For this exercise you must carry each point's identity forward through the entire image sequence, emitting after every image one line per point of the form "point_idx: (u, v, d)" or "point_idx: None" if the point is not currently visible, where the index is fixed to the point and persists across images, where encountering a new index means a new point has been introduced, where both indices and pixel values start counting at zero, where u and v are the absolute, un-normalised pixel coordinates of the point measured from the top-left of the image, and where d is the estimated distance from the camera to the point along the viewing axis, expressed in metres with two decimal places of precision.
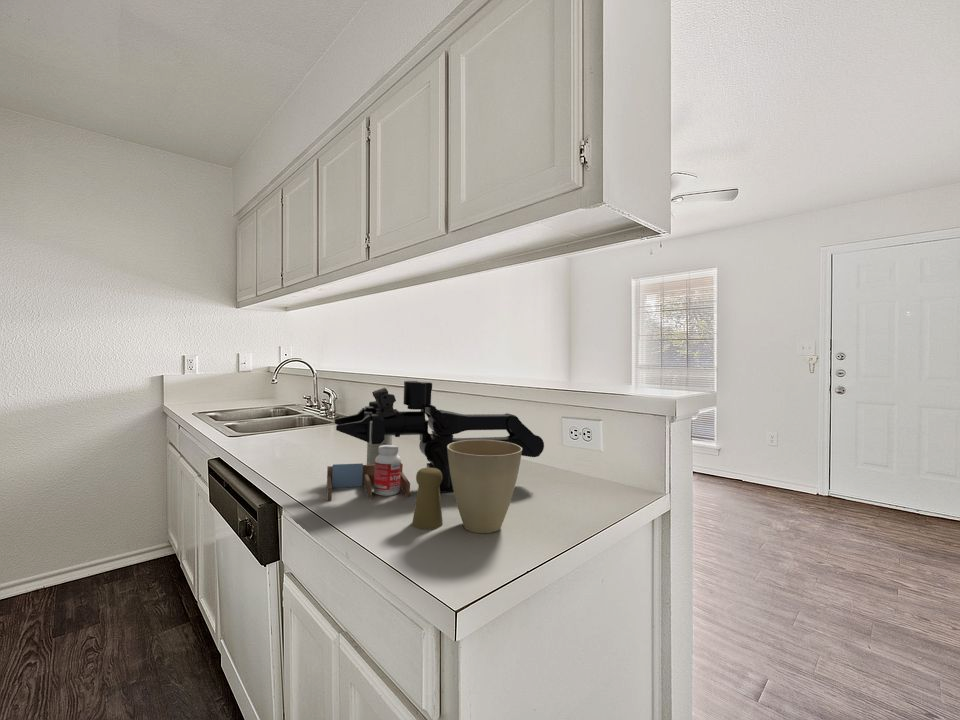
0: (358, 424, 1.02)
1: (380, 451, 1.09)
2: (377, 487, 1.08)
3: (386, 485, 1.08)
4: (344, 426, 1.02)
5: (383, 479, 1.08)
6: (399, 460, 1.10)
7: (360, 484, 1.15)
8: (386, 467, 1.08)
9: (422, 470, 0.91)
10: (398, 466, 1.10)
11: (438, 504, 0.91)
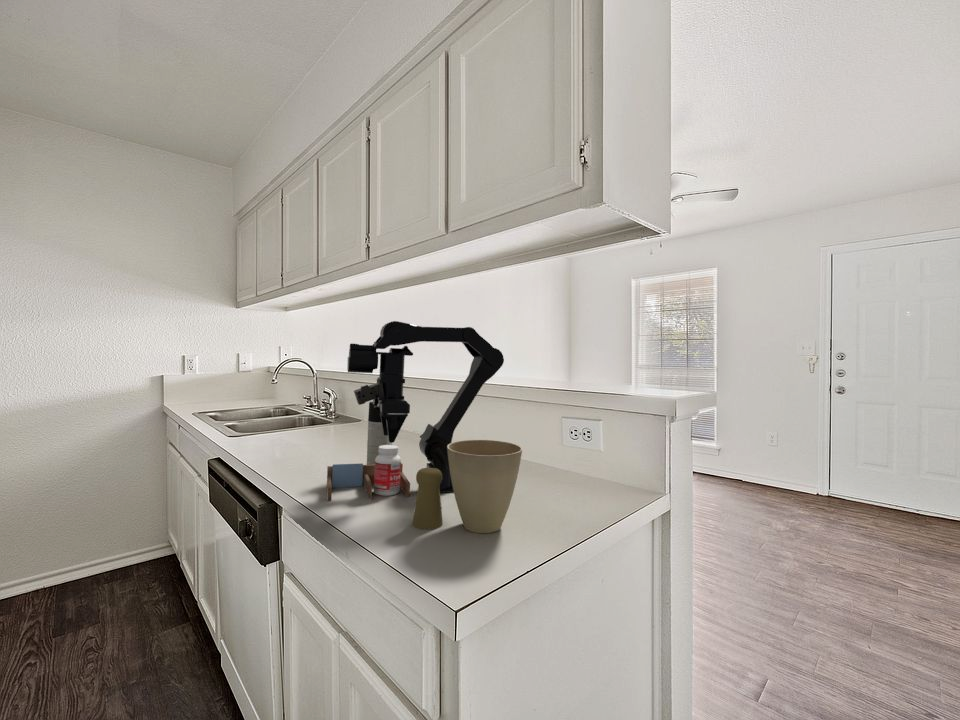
0: (389, 423, 1.05)
1: (380, 451, 1.09)
2: (377, 487, 1.08)
3: (386, 485, 1.08)
4: (390, 435, 1.06)
5: (383, 479, 1.08)
6: (399, 460, 1.10)
7: (360, 484, 1.15)
8: (386, 467, 1.08)
9: (422, 470, 0.91)
10: (398, 466, 1.10)
11: (438, 504, 0.91)
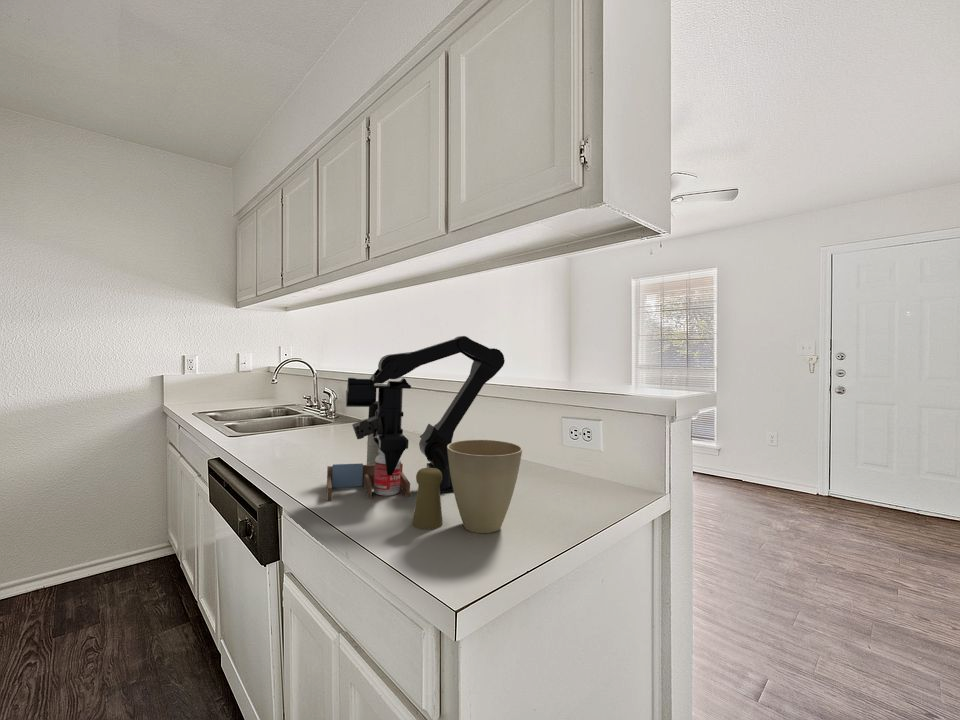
0: (387, 456, 1.06)
1: (380, 451, 1.09)
2: (377, 487, 1.08)
3: (386, 485, 1.08)
4: (388, 468, 1.07)
5: (383, 479, 1.08)
6: (399, 460, 1.10)
7: (360, 484, 1.15)
8: None
9: (422, 470, 0.91)
10: (398, 466, 1.10)
11: (438, 504, 0.91)
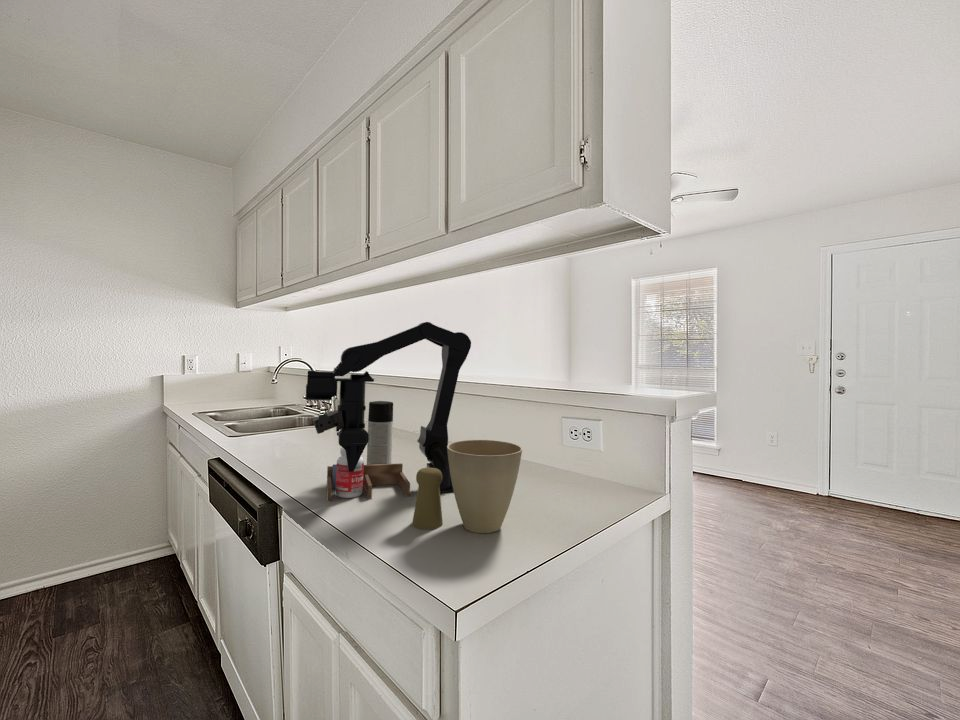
0: (348, 452, 1.02)
1: (342, 452, 1.06)
2: (338, 489, 1.06)
3: (347, 487, 1.05)
4: (349, 464, 1.03)
5: (344, 480, 1.05)
6: (361, 461, 1.07)
7: None
8: None
9: (422, 470, 0.91)
10: (360, 467, 1.07)
11: (438, 504, 0.91)
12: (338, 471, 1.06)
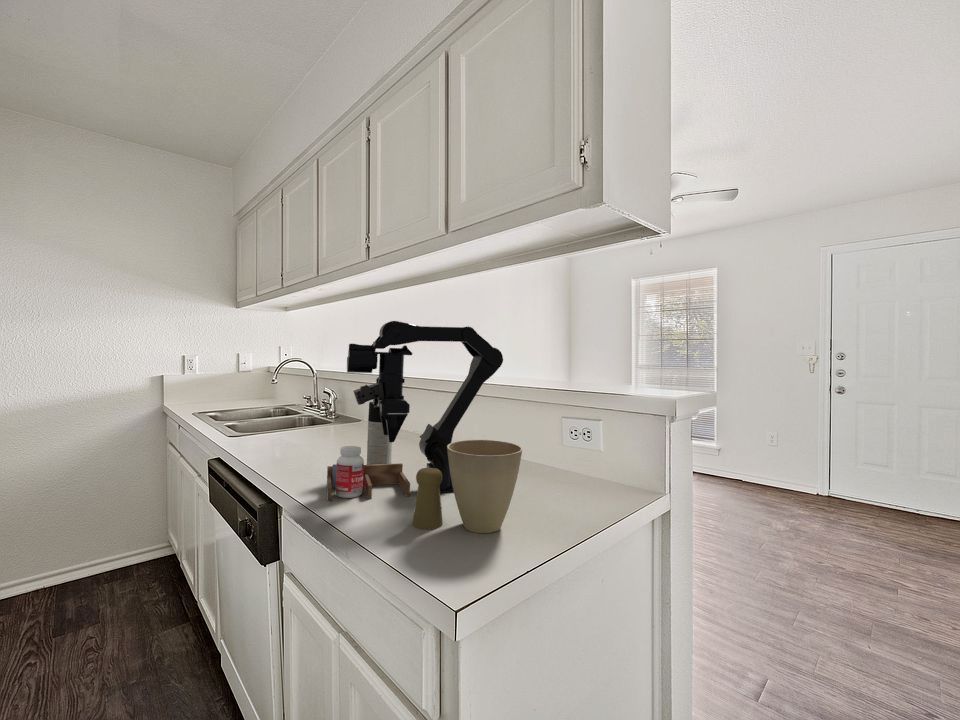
0: (389, 423, 1.05)
1: (341, 452, 1.06)
2: (338, 489, 1.06)
3: (347, 487, 1.05)
4: (390, 435, 1.06)
5: (344, 481, 1.05)
6: (361, 461, 1.07)
7: None
8: (347, 469, 1.05)
9: (422, 470, 0.91)
10: (360, 467, 1.07)
11: (438, 504, 0.91)
12: (338, 471, 1.06)
